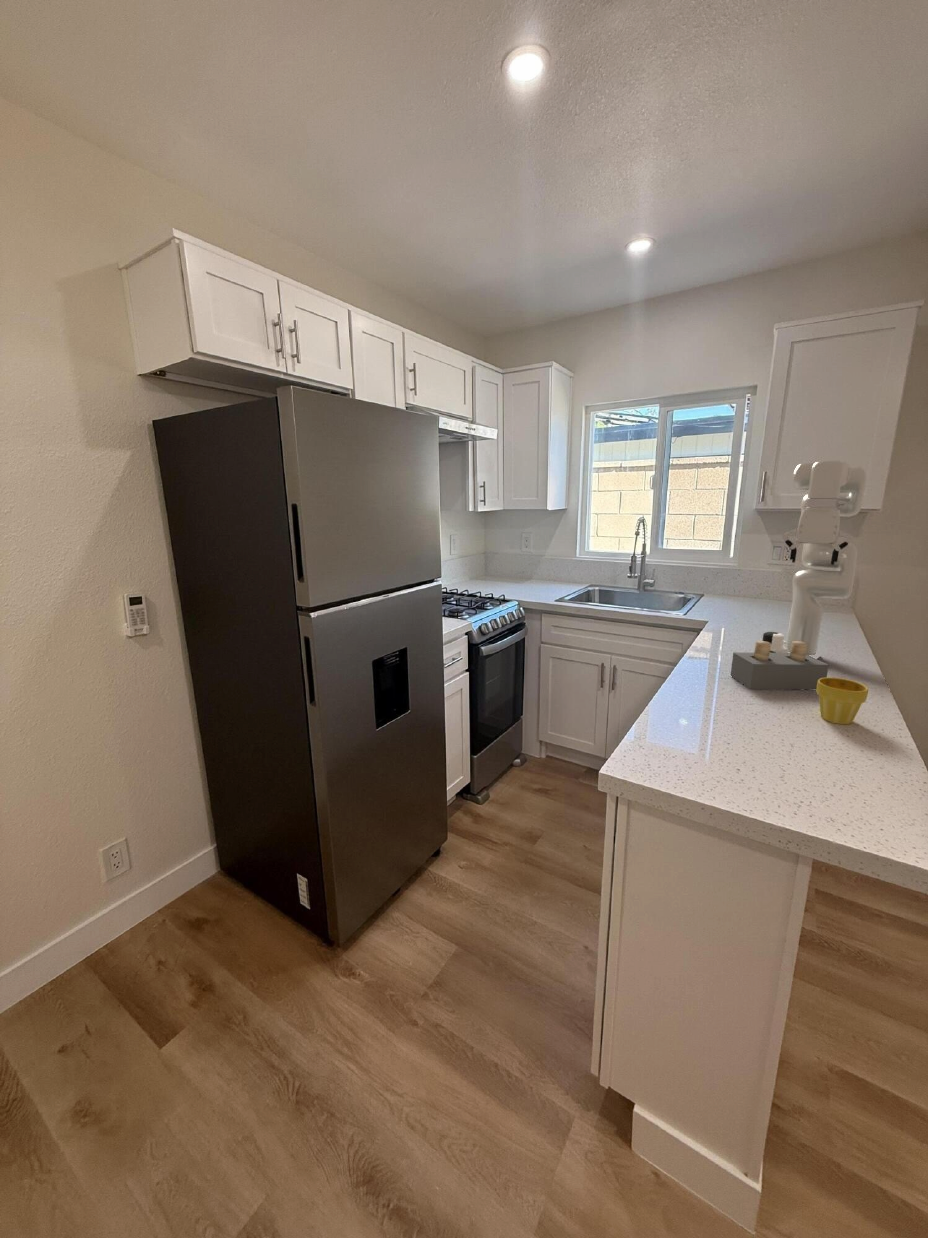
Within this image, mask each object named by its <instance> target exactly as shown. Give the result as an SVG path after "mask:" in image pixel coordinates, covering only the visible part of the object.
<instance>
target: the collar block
mask: <svg viewBox="0 0 928 1238" xmlns="http://www.w3.org/2000/svg"><path fill="white" fill-rule="evenodd" d="M731 661H732V662H731V667H730V668H731V670H730V675H731V676H732V677H731V676H730V677H731V678H732V679H734V678H735V679H736V681H737V680H738V681H739V682H738V681H737V682H738V683H740V684H741V683H742V684H741V685H743V684H744V685H745V686H744V685H743V686H744V687H746V686H747V687H748V688H747V687H746V688H747V689H748V690H755V689H817V682H818V680H819V679H820V678H825V677H828V671H829V666H830V664H828V663H826V662H823V661H821V660H820V659H815V658H813V657H811V656H809V655H806V657H805V661H794V660H792V659H790V653H769V660H768V661H757V660H756V659H754V652H735V651H734V652H733V654H732V660H731ZM735 679H734V680H735Z"/></svg>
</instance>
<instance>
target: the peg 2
mask: <svg viewBox="0 0 928 1238" xmlns="http://www.w3.org/2000/svg"><path fill="white" fill-rule="evenodd" d="M807 645H808V644H807V643H805V642H800V641H793V642H792V645H791V652H790V659H792V660H794V661H805V657H806V651H807Z"/></svg>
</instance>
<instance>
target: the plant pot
mask: <svg viewBox="0 0 928 1238" xmlns="http://www.w3.org/2000/svg"><path fill="white" fill-rule="evenodd" d="M815 691H816V693H817V695H818V699H819V700H818V701H819V709H820V717H821V718H822V719H823V720H824V721H828V722H830V723H832V724H837V725H850V724H852V723H853V722H854V721H855V718H856V716H857V714H858V712H859V710H860V708H861V706H862V704H864V703H866V701H867V698H868V694H869V687H868V686H867V685H865V684H863V683H861V682H858V681H855V680H852V679H847V678H842V677H834V676H833V677H832V676H831V677H829V676H827V677H825V678H820V679H819V680H818V682H817V689H816V690H815Z"/></svg>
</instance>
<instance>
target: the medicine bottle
mask: <svg viewBox="0 0 928 1238" xmlns="http://www.w3.org/2000/svg"><path fill="white" fill-rule="evenodd" d="M784 640H785V635H784V634H782V633H780V632H776V631H766V632H763V634H762V640H761V641H766V642H769V643H771V646H770V653H788V650H789V649H788V648H785V646H784V643H783V641H784Z"/></svg>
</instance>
